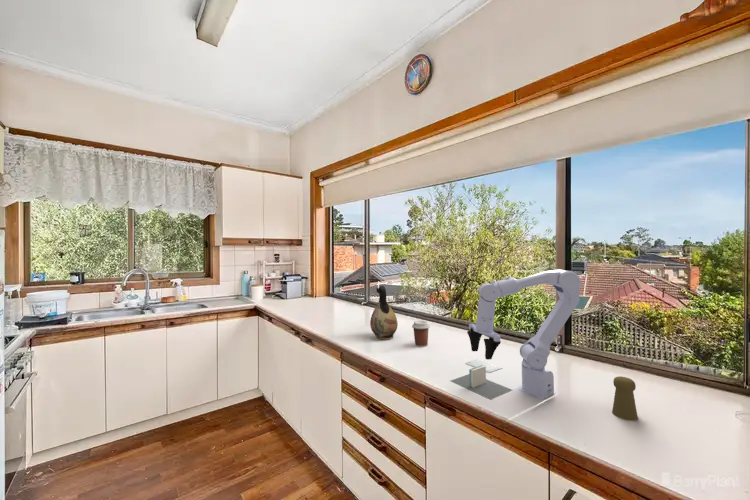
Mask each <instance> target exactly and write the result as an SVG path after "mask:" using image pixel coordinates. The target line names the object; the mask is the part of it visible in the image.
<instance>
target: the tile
mask: <svg viewBox="0 0 750 500" xmlns="http://www.w3.org/2000/svg"><path fill="white" fill-rule="evenodd" d="M468 371H469V373H468V374H469V379H470V386H471V387H476V386H478V385H481V384H484V383H486V379H487V377H486V376H487V374H486V373H487V372H486V366H483V365H481V366H478V367H473V368H470V369H469V370H468Z"/></svg>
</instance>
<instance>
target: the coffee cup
mask: <svg viewBox="0 0 750 500" xmlns="http://www.w3.org/2000/svg"><path fill="white" fill-rule="evenodd" d="M430 327H431V326H430V324H429V323H428V321H426V320H415V321H414V322H413V324H412V327H411V328H412V329H413V338H414V346H415V347H418V348H426V347H428V346H429V345H428V342H429V329H430Z"/></svg>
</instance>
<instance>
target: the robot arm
mask: <svg viewBox="0 0 750 500" xmlns="http://www.w3.org/2000/svg"><path fill="white" fill-rule="evenodd" d="M542 284H546V285H552V287H554V289H555V290H556V292H557V295H558V298H559V299H558V300H557V302H556V304H554V306H553V308H552V309H551V311H550V312H549V314H548V316H547V317H546V319H545V320H544V322H543V323H542V325H541V326H540V327H539V329H538V331H537V332H536V333H535V335H534V336H532V337H529V339H528V340H527V342H525V343H523V344H522V345H521V346H520V347H519V355H520V356H521V358H522V361H521V386H518V387H516V389H517V390H519V391H521V392H524V393H525V394H529V395H532V396H534V397H537V398H539V399H542V400H543V399H546V398H548V397H550V396H552V395H553V394H556V392H555V386H554V385H555V381H554V377H555V376H554V373H553V371H552V370H549V369H547V367H546V366H547V364H548V359H549V356H550V355H551V354H550V353H551V345H552V343H553V342H554V340H555V339H556V337H557V335H558V334H559V333H560V331H561V330H562V328H563V327H564V326H565V324H566V322H567V321H568V319H569V318H570V317H571V315H572V314H573V312H574V310H575V309H576V308H577V306H578V304H579V303H580V295H581V293H580V291H581V289H580V288H581V287H582V286H583V283H582V281H581V279H580V277H579V275H578V274H577V273H576V271H572V270H564V269H561V268H555V269H553V270H552V269H551V270H550V269H549V270H545V271H541V272H538V273H535V274H531V275H528V276H525V277H522V278H518V279H517V278H515V277H513V276H505V277H504V279H500V280H497V281H495V280H491V283H489V282H484V283H482V284H481V285H480V286H479V288H478V290H477V292H478V295H479V297H478V298H479V299H478V304H477V312H476V313H477V315H476V322H475V324H474V323H469V324H468V329H469V330H467V332H466V333H467V335H468V338H469V342H470V346H471V347H470V348H471V352H478V351H479V346H480V341H481V338H482V336H484V337H487V338H483V342H484V349H485V353H484V357H485V360H488V361H489V360H492V359H493V356H494V354H495V352H496V350H497V348H498V347H499V346H500V345H501V335H500V334H498V333H497V332H495V331H494V320H495V312H496V301H497V300H498V298H505V297H507V296H511V295H515V294H518V293H519V292H520V291H521V289H524V288H528V287H534V286H538V285H542Z"/></svg>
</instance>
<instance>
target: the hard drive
mask: <svg viewBox="0 0 750 500" xmlns="http://www.w3.org/2000/svg"><path fill="white" fill-rule="evenodd" d="M465 365H468V366H470V367H473V368H475V367H478V366H481V365H483V366H486V373H488V374H491V373H493V372H497V371H500V370H502V369H503V367H501V366H498V365H495V364H492V363H489V362H487V361H485V360H482V359H479V358H476V359H473V360H470V361H468V362H465Z"/></svg>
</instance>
